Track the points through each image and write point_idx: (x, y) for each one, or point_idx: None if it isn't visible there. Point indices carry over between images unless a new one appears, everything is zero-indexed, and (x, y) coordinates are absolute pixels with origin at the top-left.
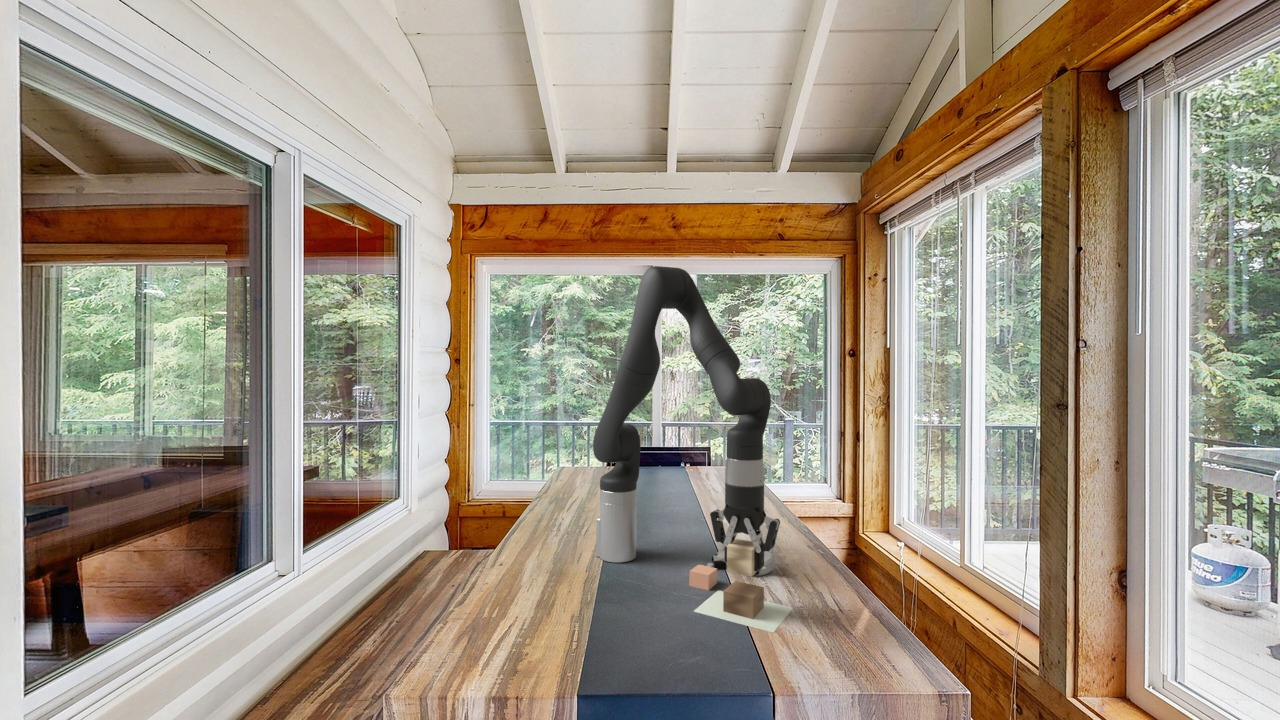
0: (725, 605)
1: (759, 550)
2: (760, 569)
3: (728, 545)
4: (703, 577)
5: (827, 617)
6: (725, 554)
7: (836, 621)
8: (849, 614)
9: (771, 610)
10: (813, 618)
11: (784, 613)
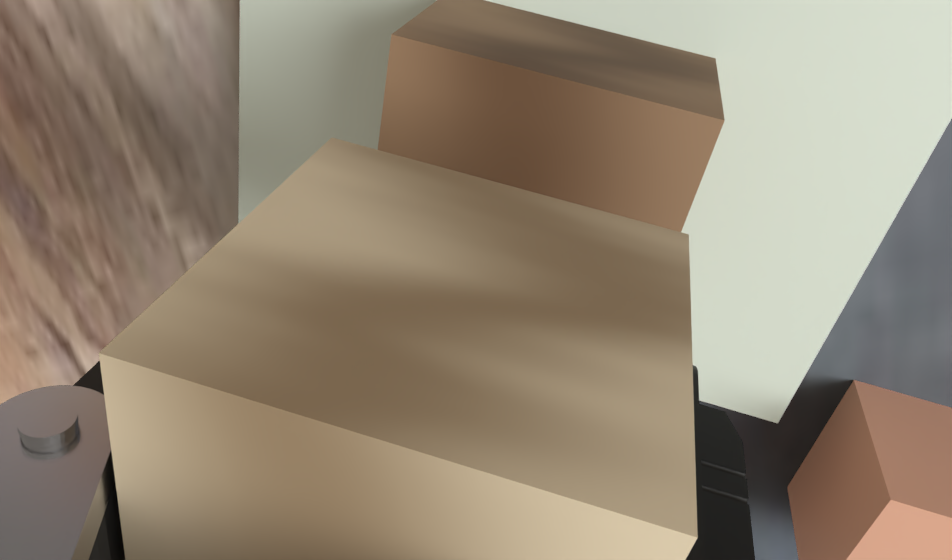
0: (696, 70)
1: (23, 412)
2: None
3: (662, 551)
4: (933, 492)
5: (85, 247)
6: (731, 499)
7: (30, 211)
8: (12, 307)
9: None
10: (142, 216)
11: (263, 166)
